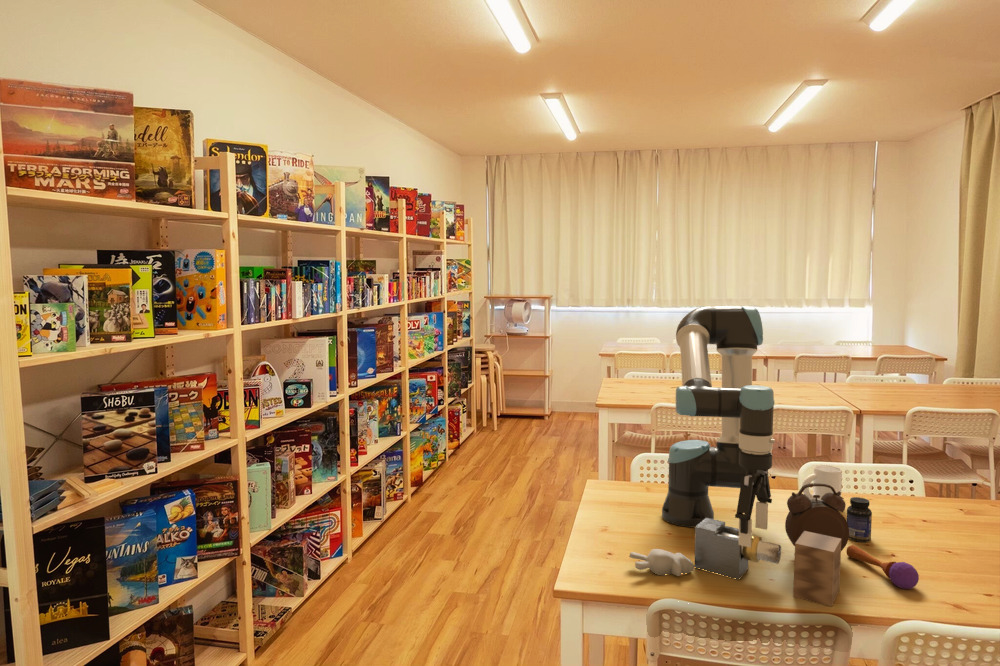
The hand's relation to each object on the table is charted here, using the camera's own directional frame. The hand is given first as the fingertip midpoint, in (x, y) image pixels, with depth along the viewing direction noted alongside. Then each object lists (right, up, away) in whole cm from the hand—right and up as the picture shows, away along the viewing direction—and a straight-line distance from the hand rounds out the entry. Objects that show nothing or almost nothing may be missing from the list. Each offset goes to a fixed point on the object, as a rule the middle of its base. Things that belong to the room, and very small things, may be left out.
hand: (753, 536), depth 160 cm
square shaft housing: (-6, -10, +6) cm, 13 cm away
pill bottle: (+38, -8, +24) cm, 46 cm away
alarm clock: (+20, -9, +11) cm, 25 cm away
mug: (+40, -6, +50) cm, 64 cm away
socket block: (+12, -11, -7) cm, 18 cm away
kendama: (+32, -10, +3) cm, 34 cm away
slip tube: (-3, -6, +3) cm, 7 cm away
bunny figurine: (-21, -10, +5) cm, 24 cm away
